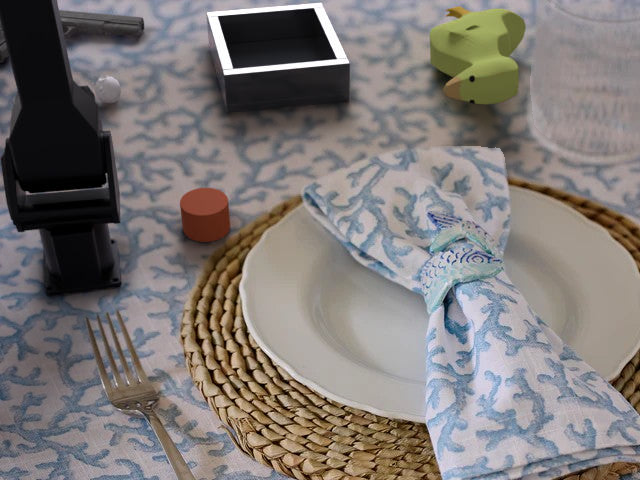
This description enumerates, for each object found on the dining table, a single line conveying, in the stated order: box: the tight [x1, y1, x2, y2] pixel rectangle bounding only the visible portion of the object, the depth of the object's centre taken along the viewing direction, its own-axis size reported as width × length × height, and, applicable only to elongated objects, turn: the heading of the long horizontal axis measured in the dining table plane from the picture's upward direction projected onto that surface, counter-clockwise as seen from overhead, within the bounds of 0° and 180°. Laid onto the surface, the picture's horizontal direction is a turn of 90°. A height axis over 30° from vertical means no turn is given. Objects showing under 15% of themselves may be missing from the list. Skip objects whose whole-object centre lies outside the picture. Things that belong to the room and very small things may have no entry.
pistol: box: [0, 9, 145, 64], centre depth 119 cm, size 2×18×12 cm
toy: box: [429, 6, 527, 105], centre depth 114 cm, size 6×17×20 cm
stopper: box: [179, 187, 231, 243], centre depth 94 cm, size 4×4×3 cm
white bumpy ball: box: [94, 74, 122, 104], centre depth 110 cm, size 3×3×3 cm
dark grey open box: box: [205, 2, 351, 114], centre depth 114 cm, size 15×14×4 cm
